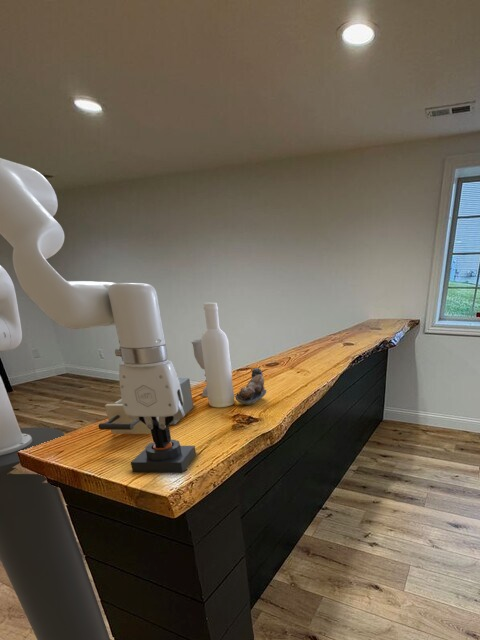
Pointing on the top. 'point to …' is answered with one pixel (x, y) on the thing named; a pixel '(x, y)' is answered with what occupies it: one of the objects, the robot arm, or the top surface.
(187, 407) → the drawer cabinet
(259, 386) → the brown figurine on dish
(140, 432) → the cream drawer
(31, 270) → the robot arm
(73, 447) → the top surface
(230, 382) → the bottle
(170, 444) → the button
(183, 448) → the control block
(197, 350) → the chalice
